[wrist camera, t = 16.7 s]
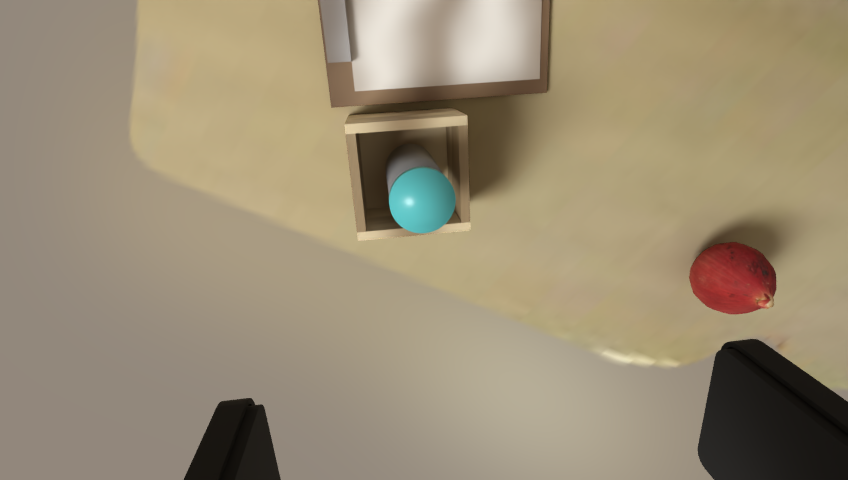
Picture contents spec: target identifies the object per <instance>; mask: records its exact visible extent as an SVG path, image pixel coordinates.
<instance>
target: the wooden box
mask: <svg viewBox="0 0 848 480" xmlns="http://www.w3.org/2000/svg"><path fill="white" fill-rule="evenodd" d="M344 125H345V134H346V142H347V151H348V159H349V168H350V176H351V185H352V193H353V202H354V210H355V219H356V227H357V236H358V241H362V240H373V239H383V238H394V237H405V236H416V235H426V234H437V233H448V232H459V231H469V230H470V197H469V158H468V120H467V115H466V114H464V113H462V112H460V111H458V110H455V109H453V108H441V109H427V110H413V111H399V112H385V113H371V114H357V115H349V116H348V118H347V120H346V122H345V124H344ZM403 144H417V145H420V146H422V147H423V148H425V149H426V150H427V151H428V152H429V153H430V155H431V156H432V158H433V159H434V161H435V162H436V164H437V165H438V167H439V168H440V170H441V171H442V173H443V174H444V175H445V176H446V177H447V179H448V180H449V181H450V183H451V185H452V186H453V189H454V192H455V197H456V204H455V209H454V212H453V214H452V216H451V218H450V219H449V220H448V222H447V223H446V224H445V225H443V226H442V227H441V228H439V229H437V230H435V231H433V232H429V233H414V232H411V231H408V230H406V229H404V228H403V227H401V226H400V225H399V224H398V223H397V222H396V221H395V219H394V218H393V216H392V214H391V211H390V206H389V192H388V185H387V177H386V169H385V166H386V161H387V158H388V156H389V155H390V153H391V152H392V151H393V150H394V149H395V148H397V147H398V146H400V145H403Z"/></svg>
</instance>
